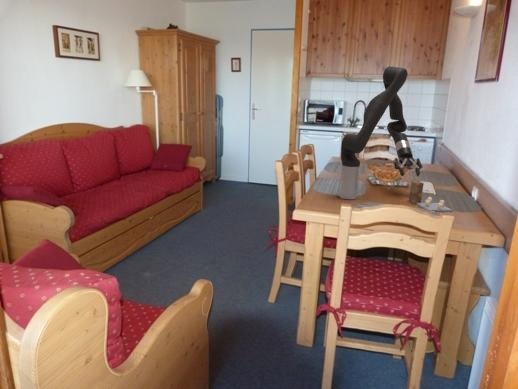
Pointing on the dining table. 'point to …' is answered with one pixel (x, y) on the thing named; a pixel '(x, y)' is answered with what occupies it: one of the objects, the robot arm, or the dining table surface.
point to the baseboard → (428, 188)
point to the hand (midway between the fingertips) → (410, 175)
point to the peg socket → (434, 206)
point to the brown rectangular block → (416, 192)
